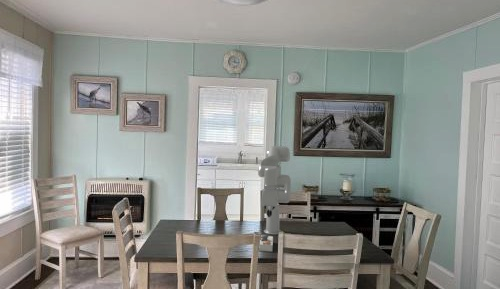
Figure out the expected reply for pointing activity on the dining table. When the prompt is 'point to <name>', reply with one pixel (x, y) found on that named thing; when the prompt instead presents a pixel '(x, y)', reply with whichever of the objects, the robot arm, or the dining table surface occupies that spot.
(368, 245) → the dining table surface
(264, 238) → the middle button
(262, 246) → the panel
